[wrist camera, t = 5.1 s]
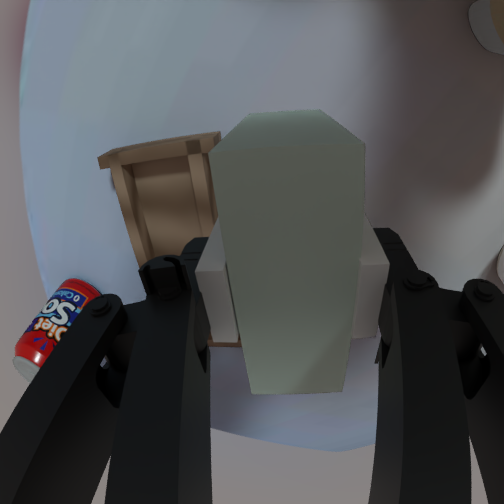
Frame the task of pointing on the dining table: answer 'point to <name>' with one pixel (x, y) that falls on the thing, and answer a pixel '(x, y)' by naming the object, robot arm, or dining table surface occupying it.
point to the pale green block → (292, 245)
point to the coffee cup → (488, 24)
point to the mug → (501, 265)
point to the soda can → (51, 325)
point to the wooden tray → (166, 195)
